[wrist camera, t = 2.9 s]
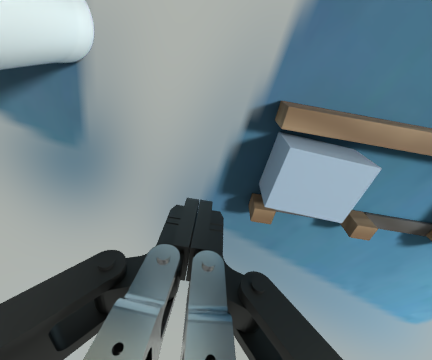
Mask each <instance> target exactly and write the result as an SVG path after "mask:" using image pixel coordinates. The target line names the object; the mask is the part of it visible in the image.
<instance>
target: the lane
mask: <svg viewBox="0 0 432 360" xmlns="http://www.w3.org/2000/svg"><path fill="white" fill-rule="evenodd" d="M275 121H276V122H277V124H278V125H279V126H280V127H281V129H285V130H291V131H297V132H302V133H308V134H313V135H319V136H324V137H330V138H335V139H341V140H347V141H352V142H358V143H363V144H369V145H374V146H380V147H385V148H391V149H396V150H402V151H408V152H413V153H419V154H424V155H430V156H432V128H427V127H421V126H416V125H410V124H405V123H400V122H394V121H389V120H383V119H378V118H373V117H367V116H362V115H356V114H351V113H345V112H340V111H335V110H329V109H324V108H318V107H313V106H308V105H302V104H297V103H291V102H286V101H281V102H280V106H279V109H278V112H277V115H276V118H275ZM249 212H250V220H251V221H254V222H260V223H266V224H271V222H272V220H273V217H274V215H275V213H276V212H282V213H288V214H294V215H300V214H295V213H291V212H286V211H281V210H276V209H272V208H267V207H264V203H263V199H262V195H260V194H254V193H252V196H251V199H250V202H249ZM300 216H305V215H300ZM306 217H310V216H306ZM312 218H314V217H312ZM318 219H319V218H318ZM340 224H341V225H342V227H343V228H344V230H345V231H346V233H347V234H348V236H349V237H351V238H357V239H363V240H370V239H371V237H372V236H373V235H374V234H375V232H376V231H377V230H378V229H384V230H390V231H396V232H402V233H408V234H414V235H420V236H427V237H428V238H429V239H430V240H431V241H432V223H426V222H420V221H414V220H408V219H402V218H396V217H390V216H384V215H378V214H373V213H367V212H365V213H364V212H361V211H355V210H351V212H350V213H349V214H348V216H347V217H346V218H345V220H344V221H343V223H340Z"/></svg>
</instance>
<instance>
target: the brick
mask: <svg viewBox="0 0 432 360" xmlns="http://www.w3.org/2000/svg"><path fill="white" fill-rule="evenodd" d="M381 169H382V168H380V167H379V166H377V165H376V164H375V163H373V162H372V161H370V160H369V159H367V158H366V157H365V156H363V155H362V154H360V153H359V152H357V151H356V150H355V149H351V148H347V147H343V146H339V145H334V144H330V143H326V142H322V141H317V140H313V139H309V138H304V137H300V136H296V135H292V134H287V133H283V132H279V133H278V135H277V138H276V140H275V143H274V146H273V148H272V151H271V153H270V156H269V159H268V161H267V164H266V166H265V169H264V172H263V174H262V177H261V179H260V182H259V186H260V190H261V194H262V199H263V203H264V207H267V208H272V209H276V210H281V211H286V212H291V213H295V214H300V215H305V216H310V217H314V218H319V219H324V220H329V221H333V222H338V223H343V221H344V220H345V218H346V217H347V216H348V214H349V213H350V212H351V210H352V209H353V207H354V206H355V205H356V203H357V202H358V201H359V199H360V198H361V196H362V195H363V194H364V192H365V191H366V190H367V188H368V187H369V186H370V184H371V183H372V181H373V180H374V179H375V177H376V176H377V175H378V173H379V172H380V170H381Z"/></svg>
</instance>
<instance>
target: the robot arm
mask: <svg viewBox="0 0 432 360" xmlns="http://www.w3.org/2000/svg"><path fill="white" fill-rule="evenodd" d="M198 206H199V209H198ZM197 213H198V214H197ZM188 261H189V262H188ZM187 266H188V271H187ZM186 271H187V277H186V281H189V288H188V295H187V303H186V314H185V323H184V333H183V342H182V352H181V360H236V358H235V346H234V336H235V338H236V339H237V341H238V343H239V344H240V346H241V347H242V349H243V350H244V352H245V354H246V355H247V357H248V358H249V360H343V359H342V358H341V357H340V356H339V355H338V354H337V353H336V351H335V350H334V349H333V348H332V347H331V346H330V345H329V344H328V343H327V342H326V341H325V339H324V338H323V337H322V336H321V335H320V334H319V333H318V332H317V331H316V330H315V329H314V328H313V326H312V325H311V324H310V323H309V322H308V321H307V320H306V319H305V318H304V317H303V316H302V314H301V313H300V312H299V311H298V310H297V309H296V308H295V307H294V306H293V305H292V303H291V302H290V301H289V300H288V299H287V298H286V297H285V296H284V295H283V294H282V293H281V292H280V291H279V290H278V288H277V287H276V286H275V285H274V284H273V283H272V282H271V281H270V280H269V278H267V277H266V276H265V275H263V274H261V273H259V272H254V271H253V272H248V273H246V274H245V275H243V274H241V273H238V272H236V271H234V270H232V269H231V268H230V267H229V266H228V265H227V264H226V263H225V261H224V259H223V216H222V214H221V213H220V212H219V211H212V202H211V201H205V200H200V204H199V200H198V199H192V198H187V199H186V202H185V206H180V205H176V206H175V207H173V208H172V209H171V210H170V213H169V215H168V218H167V220H166V223H165V225H164V227H163V230H162V232H161V235H160V237H159V240H158V243H157V245H156V246H155V247H153V248H152V249H151V250H150V251H149V252H148V253H147V254H145V255H142V256H138V257H131V258H125V256H124V254H123V253H121V252H120V251H117V250H107V251H104V252H101V253H98V254H97V255H95V256H93V257H91V258H89V259H87V260H85V261H83V262H81V263H79V264H77V265H75V266H74V267H71V268H69V269H67V270H65V271H64V272H62V273H59V274H58V275H56V276H54V277H52V278H50V279H48V280H46V281H44V282H42V283H40V284H38V285H36V286H34V287H32V288H30V289H28V290H26V291H24V292H22V293H20V294H19V295H17V296H15V297H13V298H11V299H9V300H7V301H5V302H3V303H1V304H0V360H64V359H65V358H66V357H67V356H69V355H70V354H71V353H72V352H74V351H75V350H76V349H78V348H79V347H80V346H82V345H83V344H84V343H85V342H87V341H88V340H89V339H91V338H92V337H93V336H95V335H96V334H97V333H98V334H97V336H96V338H95V340H94V341H93V343H92V345H91V346H90V348H89V350H88V352H87V354H86V355H85V357H84V359H83V360H158V358H159V354H160V349H161V344H162V341H163V337H164V334H165V331H166V327H167V323H168V321H169V317H170V314H171V311H172V307H173V304H174V301H175V297H176V293H177V291H178V287H179V283H180V280H185V276H186Z"/></svg>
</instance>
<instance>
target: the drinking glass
mask: <svg viewBox="0 0 432 360" xmlns="http://www.w3.org/2000/svg"><path fill="white" fill-rule="evenodd" d="M93 41H94V22H93V17H92V14H91V11H90V8H89V6H88V4H87V2H86V0H0V70H4V69H11V68H19V67H26V66H34V65H42V64H50V63H72V62H76V61H79V60H81V59H83V58H84V57H85V56H86V55H87V54H88V53H89V51H90V50H91V48H92V45H93Z"/></svg>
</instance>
